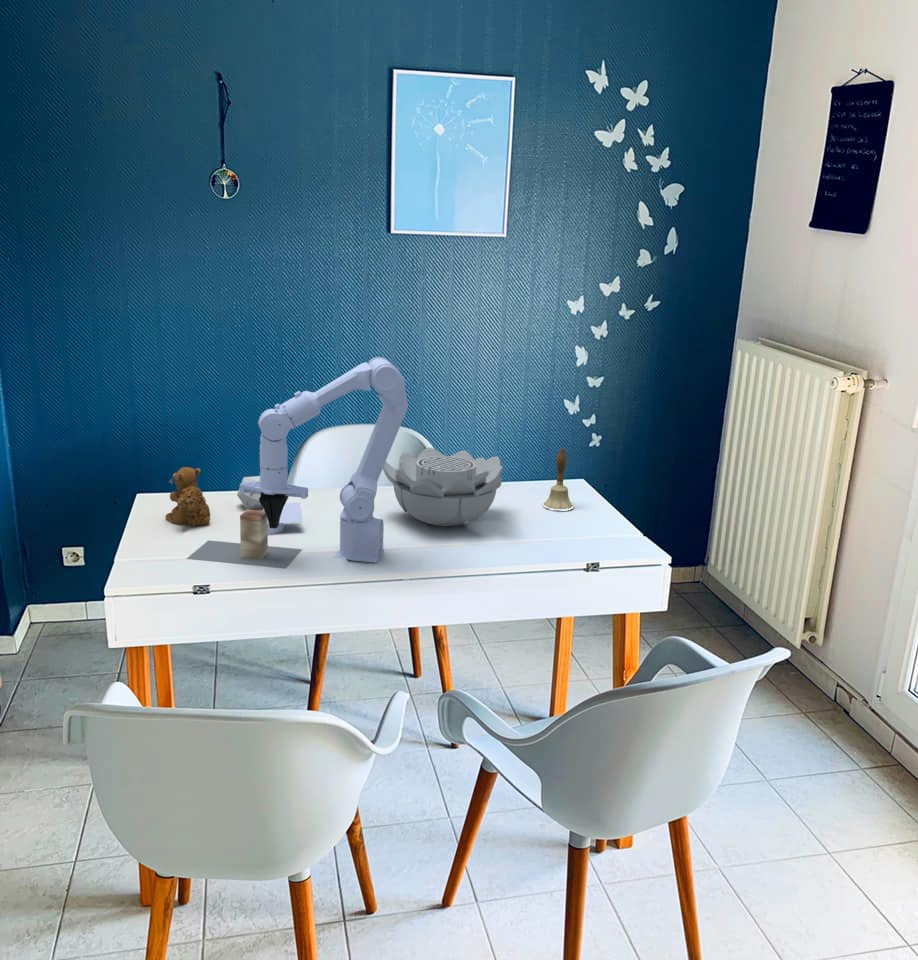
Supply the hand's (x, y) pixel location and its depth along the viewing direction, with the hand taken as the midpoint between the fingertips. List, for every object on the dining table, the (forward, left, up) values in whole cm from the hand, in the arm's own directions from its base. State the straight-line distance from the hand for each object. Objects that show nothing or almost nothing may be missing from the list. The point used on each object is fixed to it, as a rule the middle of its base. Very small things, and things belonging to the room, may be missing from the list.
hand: (274, 526), depth 205 cm
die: (+16, -34, -8) cm, 39 cm away
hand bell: (-60, -56, -8) cm, 82 cm away
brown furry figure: (+27, -18, -8) cm, 33 cm away
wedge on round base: (+6, -18, -8) cm, 21 cm away
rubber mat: (+6, 0, -7) cm, 10 cm away
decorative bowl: (-33, -36, -8) cm, 49 cm away
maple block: (+4, 0, -7) cm, 8 cm away
